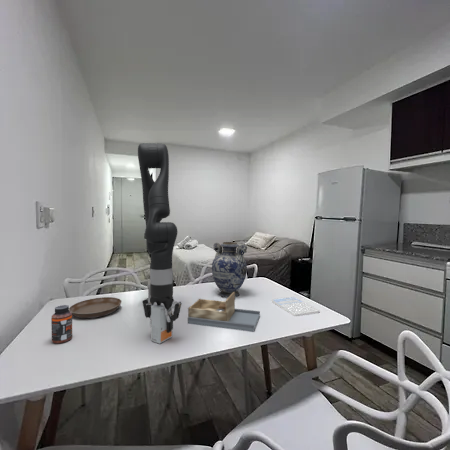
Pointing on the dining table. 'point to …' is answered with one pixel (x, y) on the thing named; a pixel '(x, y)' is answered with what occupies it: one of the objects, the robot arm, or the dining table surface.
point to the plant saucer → (95, 307)
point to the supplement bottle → (61, 324)
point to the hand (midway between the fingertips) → (161, 330)
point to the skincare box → (159, 325)
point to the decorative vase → (229, 267)
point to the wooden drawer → (212, 309)
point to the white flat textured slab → (295, 306)
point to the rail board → (232, 320)
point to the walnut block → (222, 306)
